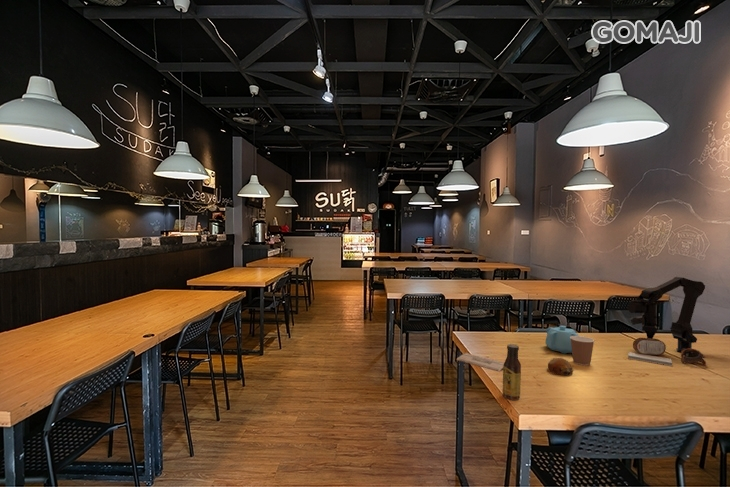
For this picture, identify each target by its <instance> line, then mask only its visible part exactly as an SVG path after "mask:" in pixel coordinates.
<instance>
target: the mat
mask: <svg viewBox="0 0 730 487" xmlns="http://www.w3.org/2000/svg"><path fill="white" fill-rule="evenodd" d="M627 359H628V360H635V361H640V362H647V363H651V362H652V364H657V363H658V364H657V365H663V364H664V366H668V367H669V366H670V367H673V362H672V358H667V357H661V356H657V355H647V354H641V353H638V352H637V353H636V352H632V351H629V352H628V356H627Z"/></svg>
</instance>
